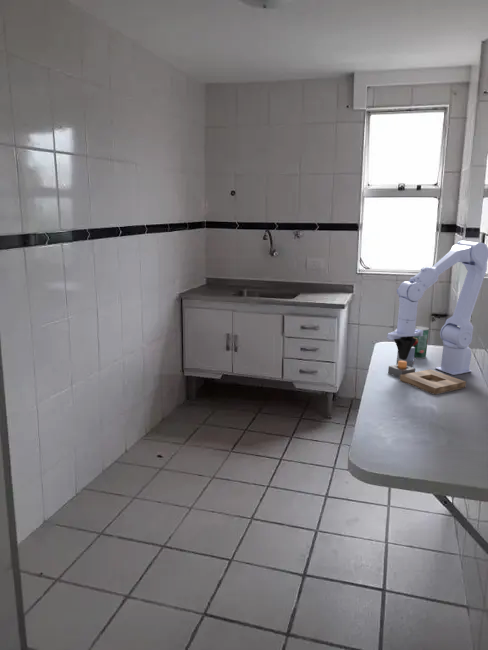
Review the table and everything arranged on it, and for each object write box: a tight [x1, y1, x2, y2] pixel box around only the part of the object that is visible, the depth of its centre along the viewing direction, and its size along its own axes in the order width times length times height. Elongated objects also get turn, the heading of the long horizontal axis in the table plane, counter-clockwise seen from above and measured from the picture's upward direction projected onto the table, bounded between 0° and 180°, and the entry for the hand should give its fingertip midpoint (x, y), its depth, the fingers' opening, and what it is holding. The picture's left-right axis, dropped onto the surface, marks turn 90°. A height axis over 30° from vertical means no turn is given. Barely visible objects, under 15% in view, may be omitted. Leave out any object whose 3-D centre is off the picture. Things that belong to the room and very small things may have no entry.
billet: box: [395, 347, 415, 368], centre depth 192 cm, size 4×4×7 cm
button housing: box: [387, 364, 416, 378], centre depth 183 cm, size 6×6×2 cm
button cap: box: [398, 361, 407, 369], centre depth 183 cm, size 3×3×2 cm
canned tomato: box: [412, 324, 430, 360], centre depth 206 cm, size 8×8×11 cm
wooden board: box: [399, 369, 467, 395], centre depth 174 cm, size 14×14×2 cm
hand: (402, 358), depth 182 cm, fingers closed
